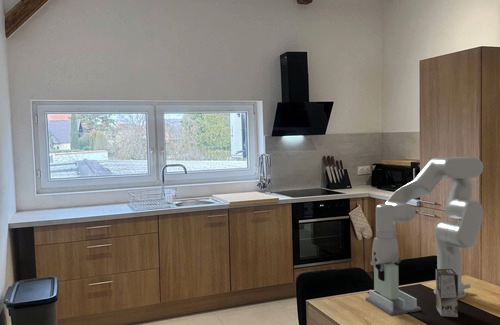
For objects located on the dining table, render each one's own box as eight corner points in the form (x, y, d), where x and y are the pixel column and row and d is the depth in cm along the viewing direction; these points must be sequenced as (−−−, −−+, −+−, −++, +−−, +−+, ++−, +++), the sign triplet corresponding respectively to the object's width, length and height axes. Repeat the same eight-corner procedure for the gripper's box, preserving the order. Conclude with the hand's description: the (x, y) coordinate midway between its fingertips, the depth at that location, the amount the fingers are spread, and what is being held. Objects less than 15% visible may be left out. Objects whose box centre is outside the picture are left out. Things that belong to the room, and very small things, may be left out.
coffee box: (458, 317, 168) (458, 275, 167) (440, 316, 169) (440, 274, 168) (452, 308, 177) (452, 268, 176) (435, 307, 178) (435, 268, 177)
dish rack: (394, 295, 193) (393, 285, 192) (421, 310, 175) (420, 299, 175) (365, 299, 189) (365, 289, 188) (390, 315, 171) (390, 304, 171)
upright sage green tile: (381, 289, 187) (381, 258, 187) (398, 298, 176) (398, 266, 175) (374, 290, 186) (373, 259, 186) (391, 299, 175) (390, 267, 174)
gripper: (397, 231, 186) (397, 274, 187) (362, 234, 181) (363, 279, 182) (408, 234, 179) (409, 279, 179) (372, 238, 174) (373, 284, 175)
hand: (385, 278), depth 181 cm, fingers closed on upright sage green tile, 3 cm apart
